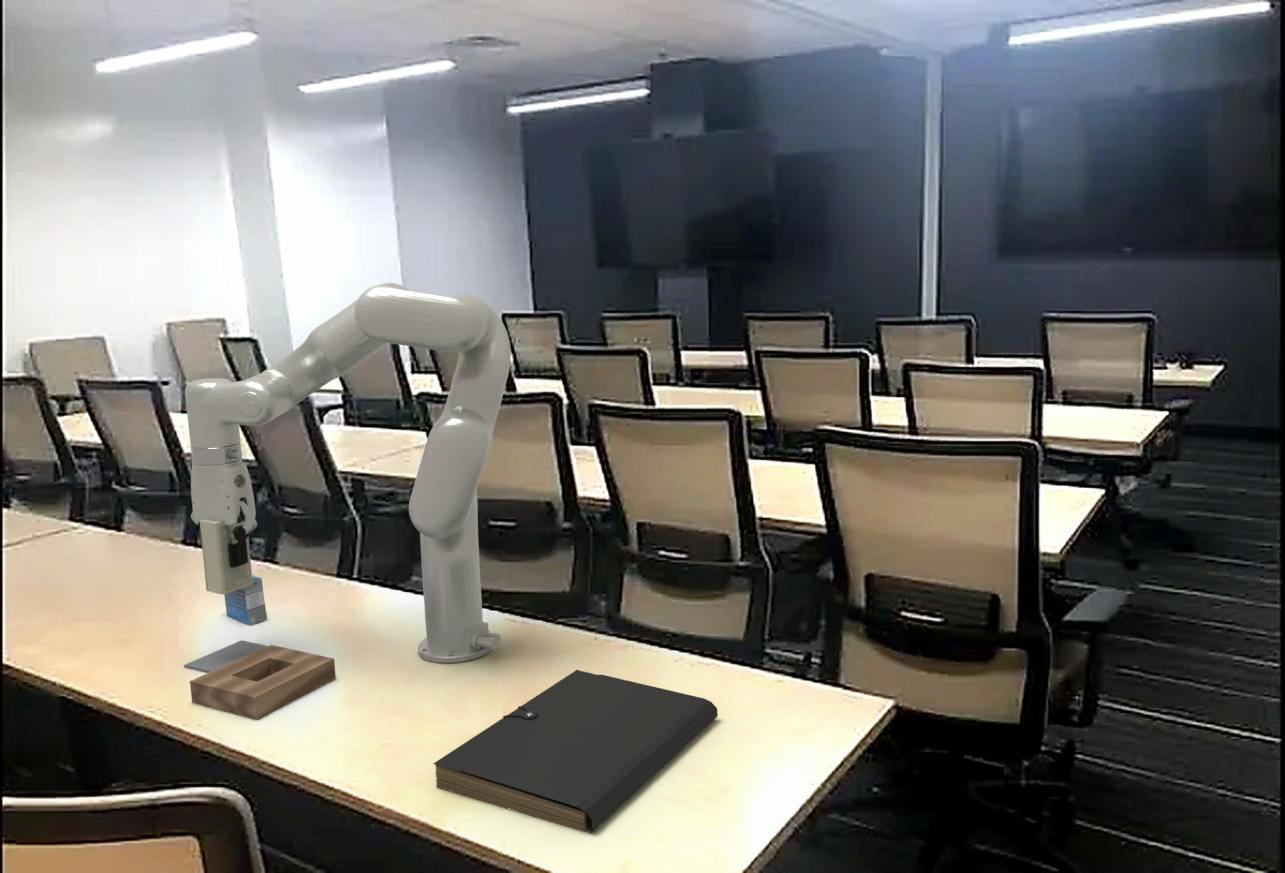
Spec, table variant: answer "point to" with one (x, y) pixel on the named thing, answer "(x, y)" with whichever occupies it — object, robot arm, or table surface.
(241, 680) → the pocket block
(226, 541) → the skincare box
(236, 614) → the label tape box
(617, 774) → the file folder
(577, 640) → the table surface
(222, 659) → the slate mat
